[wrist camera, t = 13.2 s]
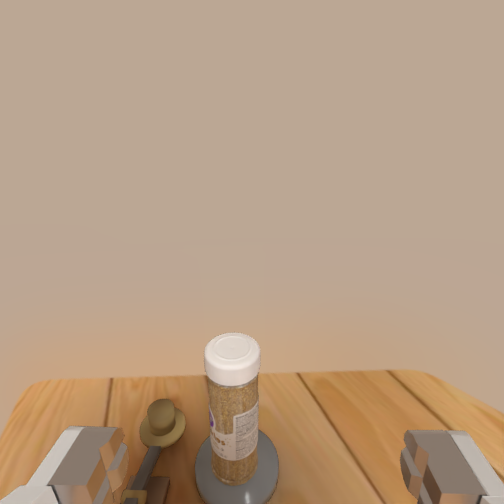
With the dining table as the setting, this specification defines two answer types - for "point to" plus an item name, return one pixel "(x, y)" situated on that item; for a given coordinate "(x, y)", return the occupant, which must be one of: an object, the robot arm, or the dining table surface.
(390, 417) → the dining table surface
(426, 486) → the robot arm
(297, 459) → the dining table surface
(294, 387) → the dining table surface
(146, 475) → the balance
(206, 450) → the grey oval pebble
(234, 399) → the spice jar
